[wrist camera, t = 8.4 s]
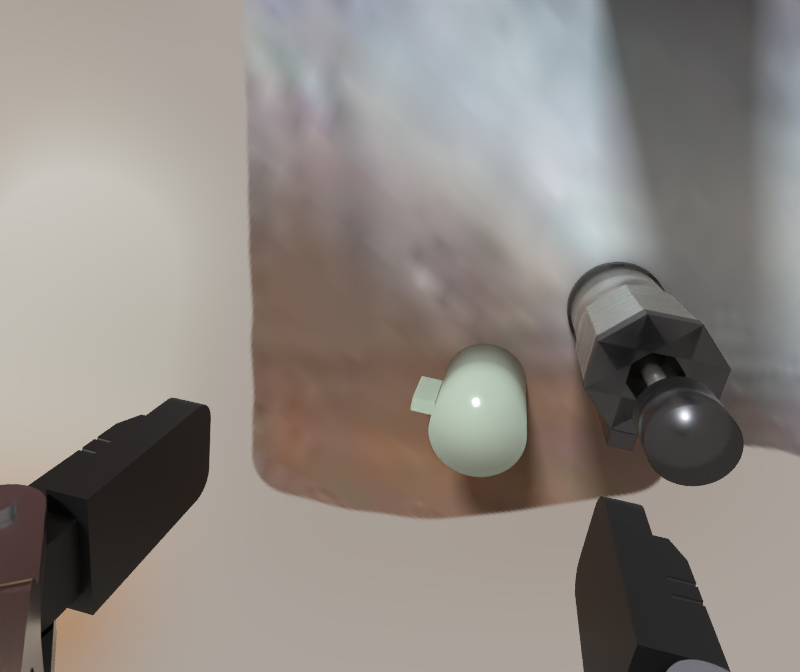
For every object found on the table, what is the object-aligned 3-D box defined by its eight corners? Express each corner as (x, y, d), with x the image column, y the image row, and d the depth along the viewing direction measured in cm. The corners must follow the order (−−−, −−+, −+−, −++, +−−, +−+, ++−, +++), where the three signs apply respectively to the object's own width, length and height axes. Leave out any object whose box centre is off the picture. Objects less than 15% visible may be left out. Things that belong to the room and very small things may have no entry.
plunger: (611, 305, 36) (661, 395, 23) (672, 318, 35) (757, 416, 23) (595, 360, 37) (634, 473, 24) (654, 372, 37) (725, 495, 24)
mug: (433, 331, 47) (413, 373, 38) (534, 353, 46) (537, 401, 37) (419, 404, 49) (398, 458, 40) (516, 426, 48) (514, 487, 39)
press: (580, 253, 43) (606, 302, 30) (677, 272, 42) (748, 331, 29) (551, 363, 45) (562, 452, 32) (641, 383, 45) (690, 482, 32)
